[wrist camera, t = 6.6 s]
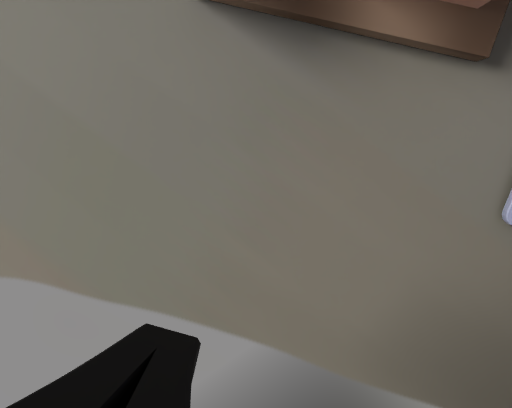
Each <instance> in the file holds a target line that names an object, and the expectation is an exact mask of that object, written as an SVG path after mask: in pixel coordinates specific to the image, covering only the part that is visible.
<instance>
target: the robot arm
mask: <svg viewBox="0 0 512 408" xmlns="http://www.w3.org/2000/svg"><path fill="white" fill-rule="evenodd" d="M502 218H503V220H504V221H505V222H506V223H508V224H510V225H512V189H511V192H510V194H509V197H508V199H507V201H506V204H505V206H504V209H503V211H502ZM200 344H201V343H200V342H199V340H198V338H196V337H193V336H189V335H186V334H182V333H179V332H175V331H171V330H167V329H164V328H161V327H157V326H154V325H150V324H145V325H143V326H141V327H139V328H138V329H136V330H135V331H133V332H132V333H130V334H129V335H127V336H126V337H124V338H123V339H121V340H120V341H118V342H117V343H115V344H114V345H112V346H111V347H109V348H107V349H106V350H104V351H103V352H101V353H100V354H98V355H97V356H95V357H94V358H92V359H90V360H89V361H87V362H85V363H84V364H82V365H80V366H79V367H77V368H76V369H74V370H72V371H71V372H69V373H67V374H66V375H64V376H62V377H61V378H59V379H57V380H55V381H54V382H52V383H50V384H48V385H46V386H45V387H43V388H41V389H39V390H38V391H36V392H34V393H32V394H30V395H28V396H27V397H25V398H23V399H21V400H19V401H18V402H16V403H14V404H12V405H10V406H8V407H6V408H190V399H191V383H192V379H193V375H194V370H195V366H196V362H197V358H198V353H199V349H200Z"/></svg>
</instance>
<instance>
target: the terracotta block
mask: <svg viewBox="0 0 512 408" xmlns="http://www.w3.org/2000/svg"><path fill="white" fill-rule="evenodd" d="M441 1H445V2H450V3H454V4H458V5H463V6H467V7H472V8H476V9H478V8H479V7H481V6H483V5H484V4H486V3H488V2H489V1H491V0H441Z"/></svg>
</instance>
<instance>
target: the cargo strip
mask: <svg viewBox="0 0 512 408" xmlns="http://www.w3.org/2000/svg"><path fill="white" fill-rule="evenodd" d="M211 1H216V2H220V3H224V4H229V5H233V6H237V7H242V8H246V9H250V10H255V11H259V12H263V13H268V14H272V15H276V16H281V17H285V18H289V19H294V20H298V21H302V22H307V23H311V24H315V25H320V26H324V27H328V28H333V29H337V30H341V31H346V32H350V33H354V34H359V35H363V36H368V37H372V38H376V39H381V40H385V41H389V42H394V43H398V44H402V45H407V46H411V47H415V48H420V49H424V50H428V51H433V52H437V53H441V54H446V55H450V56H454V57H459V58H463V59H467V60H472V61H479V60H482V59H486V58H489V56H490V53H491V50H492V48H493V45H494V42H495V39H496V37H497V34H498V31H499V29H500V26H501V23H502V20H503V18H504V15H505V12H506V10H507V7H508V4H509V2H510V0H491V1H489V2H488V3H486V4H484V5H483V6H481V7H479V8H478V9H476V8H472V7H467V6H463V5H458V4H454V3H450V2H445V1H441V0H211Z"/></svg>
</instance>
